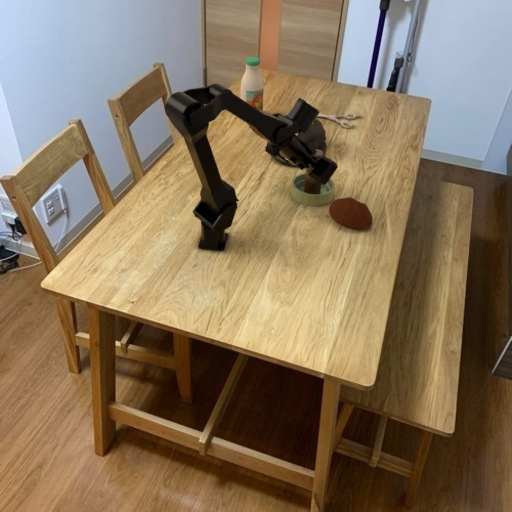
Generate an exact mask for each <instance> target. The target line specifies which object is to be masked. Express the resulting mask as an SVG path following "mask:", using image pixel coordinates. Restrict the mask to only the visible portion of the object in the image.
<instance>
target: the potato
mask: <svg viewBox="0 0 512 512" xmlns="http://www.w3.org/2000/svg"><path fill="white" fill-rule="evenodd" d="M328 214H329V217H330V218H331V219H332V220H333V221H334V222H336V223H338V224H339V225H342V227H343V226H344V227H347V228H351V229H356V230H366V229H369V228H371V226H372V225H373V220H374V219H373V214H372V212H371V210H370V208H369V206H368V205H367V204H366V203H364V202H361V201H359V200H357V199H356V198H354V197H350V196H349V197H341V198H337V199H335V200H333V201H332V202H330V204H329V206H328Z"/></svg>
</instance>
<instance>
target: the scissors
mask: <svg viewBox="0 0 512 512" xmlns="http://www.w3.org/2000/svg"><path fill="white" fill-rule="evenodd" d="M317 117H320V118H326V119H328V120H332V121H334V122H336V123H337V124H340V125H341V127H343V128H345V129H351V128H352V127H353V124H352V123H351V122H348V121H342V120H339V118H344V119H348V120H355V119H356V118H361V117H362V114H354V113H349V112H348V113H345V114H339V115H335V114H324V113H321V112H319V114H318V116H317Z"/></svg>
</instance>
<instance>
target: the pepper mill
mask: <svg viewBox="0 0 512 512" xmlns="http://www.w3.org/2000/svg"><path fill="white" fill-rule="evenodd" d="M315 150H316V151H317V152H316V154H315V155H313V156H314V157H318V156H320V157H321V156H322V157H324V156H323V155H324V152H322V151H321V150H318V149H315ZM312 161H313V160H312ZM314 162H315V161H314ZM308 165H309V166H310V168H309V169H307V168H306V169H305V173H306V175H305V185H304V193H308V194H320V193H321V185H322V184H320V183H319V182H317V181H315V180H314V179H312V178H311V177H309V176H308V175H309V173H310V172H311V170H312V168H311V165H310V164H308Z"/></svg>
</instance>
